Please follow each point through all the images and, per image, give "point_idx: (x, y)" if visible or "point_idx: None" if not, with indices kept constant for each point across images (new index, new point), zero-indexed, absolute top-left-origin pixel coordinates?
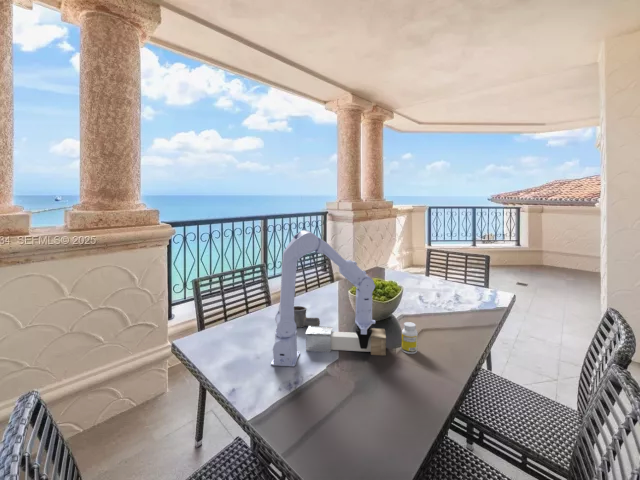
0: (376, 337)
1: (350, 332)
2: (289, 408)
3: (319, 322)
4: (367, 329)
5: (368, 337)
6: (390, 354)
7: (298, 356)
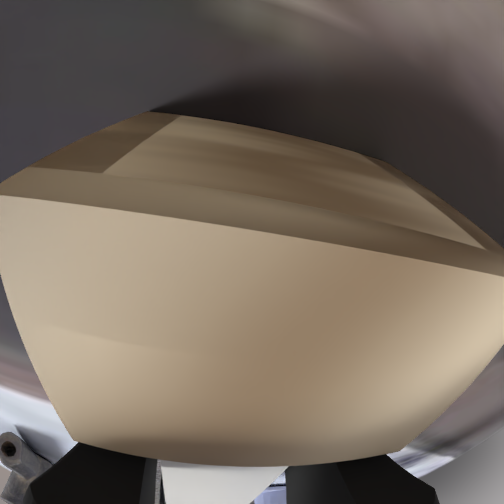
0: (443, 407)
1: (165, 488)
2: (471, 437)
3: (2, 440)
4: (147, 478)
5: (381, 458)
6: (370, 100)
7: (276, 487)
